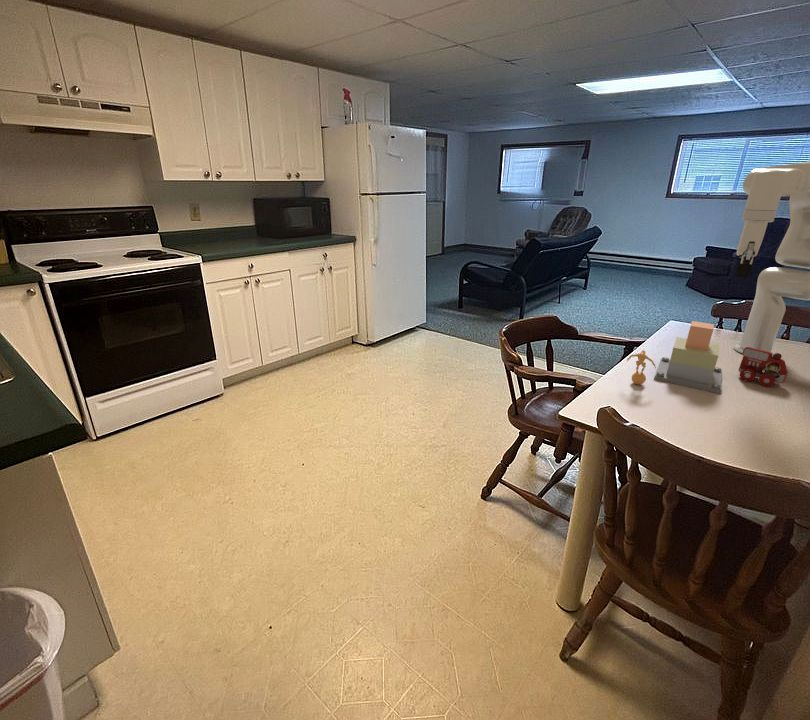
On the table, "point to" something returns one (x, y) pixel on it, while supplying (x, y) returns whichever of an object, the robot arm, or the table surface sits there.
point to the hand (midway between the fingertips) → (741, 273)
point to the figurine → (638, 376)
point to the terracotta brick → (699, 335)
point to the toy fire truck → (762, 367)
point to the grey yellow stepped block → (691, 367)
